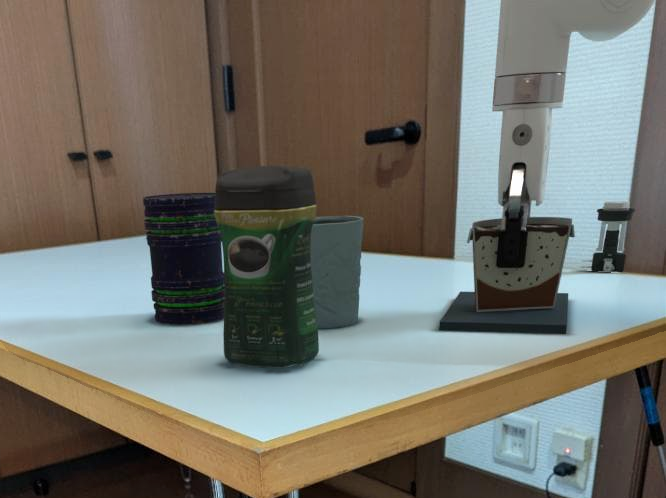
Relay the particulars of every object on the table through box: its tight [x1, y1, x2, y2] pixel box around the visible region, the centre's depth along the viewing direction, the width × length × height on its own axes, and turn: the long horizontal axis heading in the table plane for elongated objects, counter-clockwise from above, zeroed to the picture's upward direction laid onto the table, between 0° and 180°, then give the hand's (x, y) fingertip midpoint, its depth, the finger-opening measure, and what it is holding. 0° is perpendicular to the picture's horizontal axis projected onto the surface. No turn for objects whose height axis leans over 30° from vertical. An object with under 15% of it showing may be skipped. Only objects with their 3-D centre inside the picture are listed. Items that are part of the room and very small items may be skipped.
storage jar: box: [142, 192, 224, 326], centre depth 103 cm, size 10×10×15 cm
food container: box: [466, 216, 576, 312], centre depth 97 cm, size 12×6×10 cm, turn 89°
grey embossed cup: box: [310, 215, 365, 330], centre depth 98 cm, size 10×10×12 cm
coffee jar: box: [214, 165, 320, 369], centre depth 80 cm, size 10×8×19 cm
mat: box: [438, 291, 569, 335], centre depth 99 cm, size 14×20×1 cm
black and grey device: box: [579, 200, 636, 273], centre depth 124 cm, size 7×5×10 cm
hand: (512, 261), depth 97 cm, fingers closed on food container, 7 cm apart
